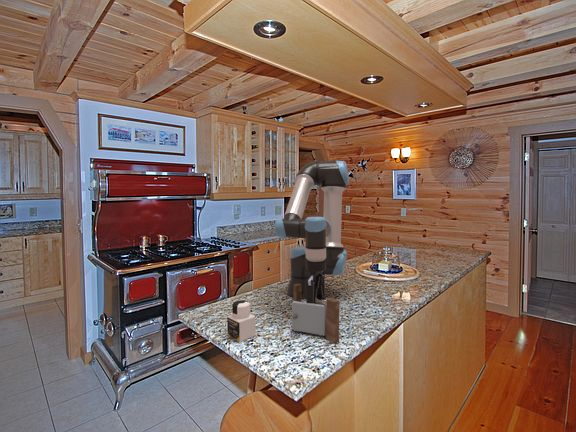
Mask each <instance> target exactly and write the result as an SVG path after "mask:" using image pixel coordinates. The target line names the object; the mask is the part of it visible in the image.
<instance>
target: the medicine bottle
mask: <svg viewBox="0 0 576 432" xmlns="http://www.w3.org/2000/svg"><path fill="white" fill-rule="evenodd" d="M231 306H232V307H231V309H232V314H230V315H227V318H226V321H227V325H226V328H227V336H228V337H229V338H231V339H233V340H235V341H236V342H238V343H242V342H243V341H246V340H249V339H250V338H253V337H255V336H256V335H257V331H256V330H257V329H256V327H257V324H256V322H257V321H256V320H257V319H256V316H255V315H254V314H252V313H251V303H250V302H249V301H247V300H244V299H243V300H241V299H240V300H237V301H234V302H233V303H232V305H231Z"/></svg>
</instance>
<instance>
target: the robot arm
mask: <svg viewBox="0 0 576 432" xmlns="http://www.w3.org/2000/svg"><path fill="white" fill-rule="evenodd" d="M349 177H350V176H349V169H348V164H347V162H346V161H344V160H325V161H322V160H320V161H319V160H317V161H311V162H309V163H307V164H306V165H303V167H302V168H300V170H298V172H297V173H296V175H295V177H294V180H293V181H294V187H293V189H292V192H291V195H290V198H289V201H288V204H287V207H286V210H285V213H284V215H283V218H282V217H281V218H277V219H276V220H275V222H274V233H275V235H276V237H280V238H287V239H288V238H290V239H292V238H293V239H294V238H295V239H305V245H300V246H296V247H293V248H291V251H290V257H289V259H290V265H289V266H290V279H289V282H288V286H287V288H286V294H287V296H289V297H291V298H294V296H293V285H294V284H301V285H302V299H304V300H305V299H306V301H305V303H312V304H316V302H317V303H323V304H324V301H325V300H326V283H325V282H326V279H325V277H326V275H329V276H341V275H343V274H344V272H345V269H346V264H347V258H348V251H347V250H346V249H345V246H344V245H343V243H341V242H342V217H343V215H342V214H343V213H342V210H343V193H344V191H346V187H347V186H349V185H350V178H349ZM314 186H320V189H321V191H323V216H307V217H306V218H303V216H304V212H305V210H306V206H307V203H308V199H309V196H310V192H311V191H312V190H313V189H314Z"/></svg>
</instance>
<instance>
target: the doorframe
mask: <svg viewBox="0 0 576 432" xmlns="http://www.w3.org/2000/svg"><path fill="white" fill-rule="evenodd" d="M293 296H294V297H293V301H297V302H302V285H301V284H294V285H293ZM326 304H327V312H326V337H325V338H326V339H325V340H326V341H328V342H330V343H332V344H336V343H339V342H340V300H338V299H336V298H334V297H330V298H326Z"/></svg>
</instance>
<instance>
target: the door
mask: <svg viewBox="0 0 576 432" xmlns="http://www.w3.org/2000/svg"><path fill="white" fill-rule="evenodd" d="M323 304H324V305H319V304H312V303H306V301H305V302H304V301H303V302H297V301H294V300H293V301H292V302H291V330H293V331H296V332H303V333H309V334H314V335H318V336H319V335H320V336H323V337H325V338H326V312H327V303H323Z"/></svg>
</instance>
